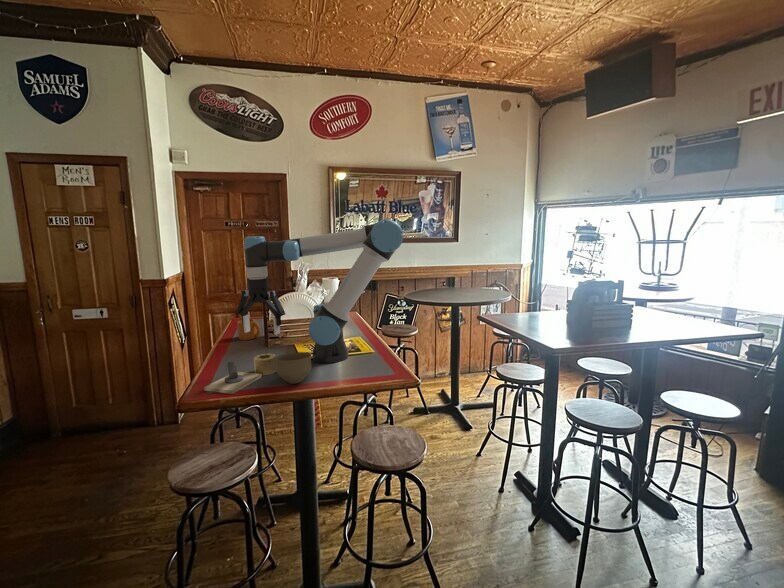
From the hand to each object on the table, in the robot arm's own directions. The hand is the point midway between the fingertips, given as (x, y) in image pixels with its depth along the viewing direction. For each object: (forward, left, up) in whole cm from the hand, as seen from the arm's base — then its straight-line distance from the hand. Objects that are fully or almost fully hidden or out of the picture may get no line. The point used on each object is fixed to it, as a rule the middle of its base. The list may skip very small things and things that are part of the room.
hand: (262, 333), depth 157 cm
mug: (+39, -41, -16) cm, 59 cm away
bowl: (-17, +6, -16) cm, 24 cm away
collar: (0, 0, -16) cm, 16 cm away
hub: (+4, +13, -16) cm, 21 cm away
